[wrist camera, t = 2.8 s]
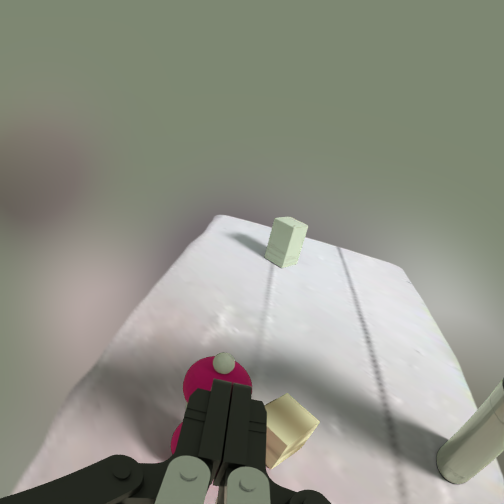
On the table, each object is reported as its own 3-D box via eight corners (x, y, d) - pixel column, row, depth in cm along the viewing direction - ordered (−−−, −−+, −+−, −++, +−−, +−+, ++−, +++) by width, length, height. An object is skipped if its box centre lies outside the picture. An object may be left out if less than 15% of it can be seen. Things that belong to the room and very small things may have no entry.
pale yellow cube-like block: (270, 419, 40) (284, 390, 37) (301, 448, 36) (320, 421, 33) (239, 437, 36) (250, 409, 33) (270, 469, 32) (287, 445, 29)
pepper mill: (162, 444, 32) (169, 330, 24) (214, 433, 36) (246, 322, 28) (181, 491, 27) (198, 399, 19) (237, 476, 30) (287, 378, 22)
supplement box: (297, 264, 92) (309, 225, 87) (281, 269, 87) (293, 227, 82) (279, 253, 97) (290, 216, 92) (263, 257, 91) (274, 217, 86)
